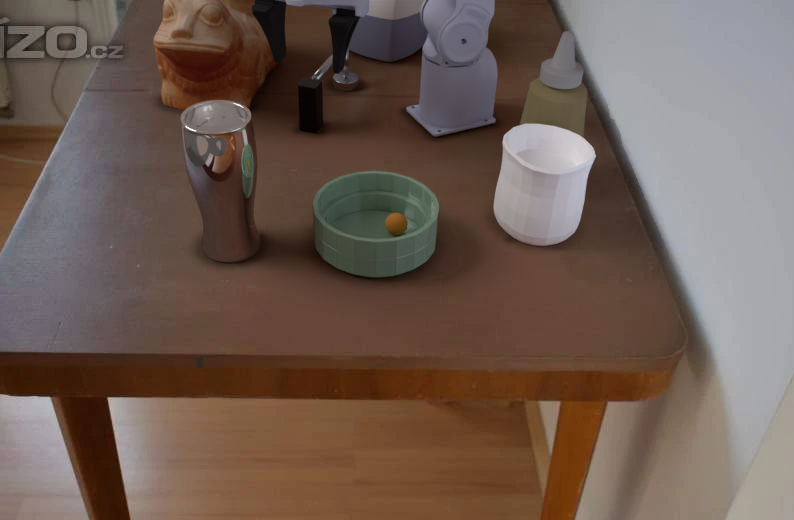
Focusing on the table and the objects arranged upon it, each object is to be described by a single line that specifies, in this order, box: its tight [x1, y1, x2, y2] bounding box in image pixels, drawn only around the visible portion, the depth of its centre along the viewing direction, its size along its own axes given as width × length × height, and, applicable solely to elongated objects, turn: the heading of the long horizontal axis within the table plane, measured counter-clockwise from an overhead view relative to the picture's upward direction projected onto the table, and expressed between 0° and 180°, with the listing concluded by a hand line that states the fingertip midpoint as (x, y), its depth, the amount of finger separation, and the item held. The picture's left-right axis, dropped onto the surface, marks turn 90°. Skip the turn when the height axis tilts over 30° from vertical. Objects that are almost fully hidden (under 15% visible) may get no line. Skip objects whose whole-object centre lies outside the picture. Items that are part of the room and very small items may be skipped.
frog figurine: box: [152, 0, 278, 111], centre depth 111 cm, size 14×26×15 cm, turn 171°
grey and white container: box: [331, 0, 429, 63], centre depth 124 cm, size 15×15×11 cm
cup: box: [492, 124, 597, 247], centre depth 91 cm, size 10×10×10 cm
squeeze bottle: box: [519, 30, 589, 138], centre depth 95 cm, size 8×8×18 cm
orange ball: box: [385, 213, 408, 235], centre depth 90 cm, size 2×2×2 cm
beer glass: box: [179, 100, 261, 264], centre depth 84 cm, size 7×7×15 cm
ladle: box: [297, 46, 360, 135], centre depth 110 cm, size 16×4×6 cm, turn 163°
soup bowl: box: [312, 170, 440, 278], centre depth 88 cm, size 13×13×5 cm
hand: (309, 64), depth 102 cm, fingers open, 7 cm apart
